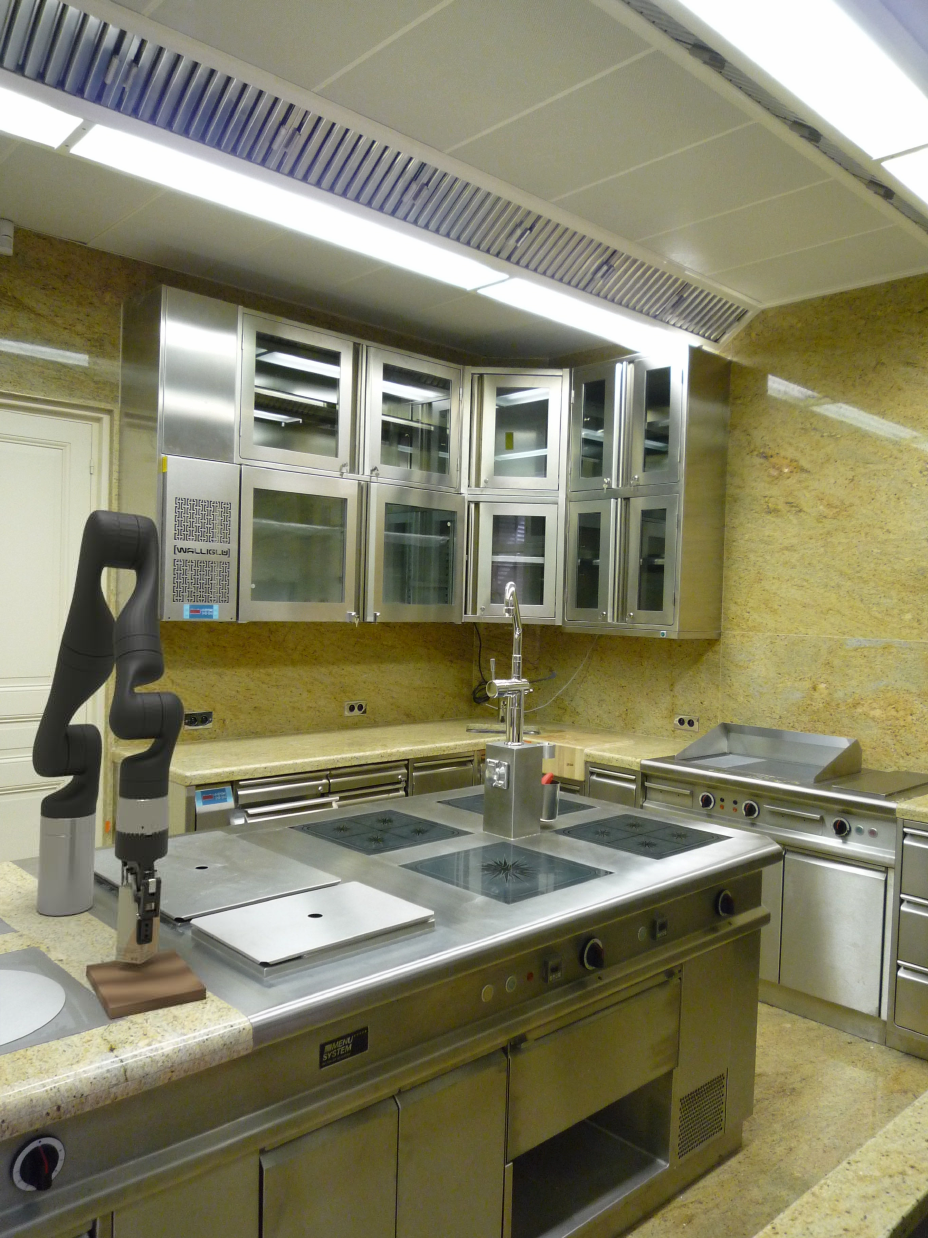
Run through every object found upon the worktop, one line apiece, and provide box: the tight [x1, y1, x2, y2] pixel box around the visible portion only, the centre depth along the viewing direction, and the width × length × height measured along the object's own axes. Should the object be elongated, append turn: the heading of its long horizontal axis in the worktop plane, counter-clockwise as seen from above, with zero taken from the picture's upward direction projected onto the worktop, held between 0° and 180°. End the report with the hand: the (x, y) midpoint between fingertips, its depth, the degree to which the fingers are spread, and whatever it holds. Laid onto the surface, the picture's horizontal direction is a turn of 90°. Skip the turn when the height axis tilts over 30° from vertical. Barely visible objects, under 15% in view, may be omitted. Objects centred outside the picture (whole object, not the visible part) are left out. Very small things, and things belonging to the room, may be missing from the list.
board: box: [85, 949, 207, 1020], centre depth 128 cm, size 16×13×2 cm
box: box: [115, 883, 162, 964], centre depth 132 cm, size 5×4×11 cm
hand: (138, 935), depth 132 cm, fingers closed on box, 6 cm apart
